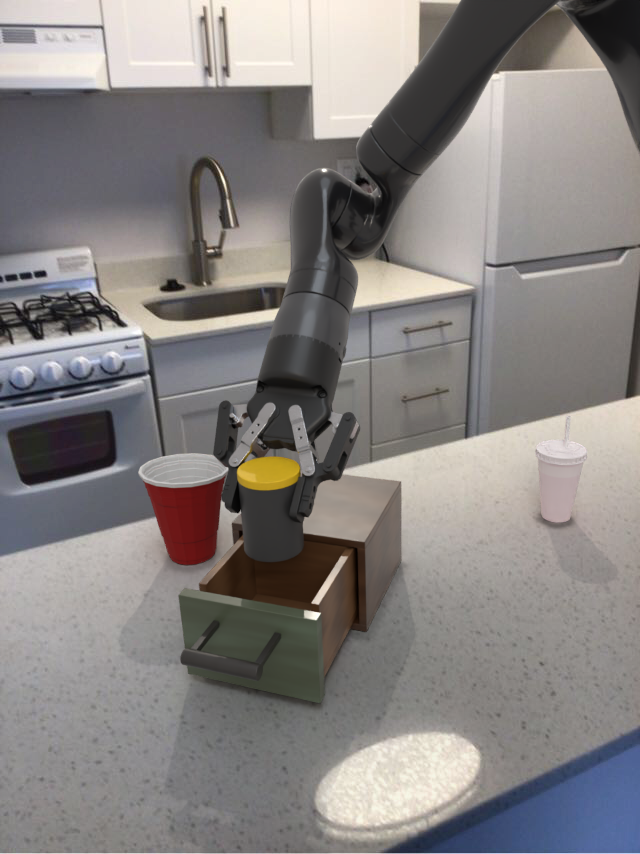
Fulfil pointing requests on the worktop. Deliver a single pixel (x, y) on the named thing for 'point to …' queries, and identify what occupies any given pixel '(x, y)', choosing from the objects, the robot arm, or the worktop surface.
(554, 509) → the smoothie
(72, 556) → the worktop surface
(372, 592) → the cabinet
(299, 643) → the drawer
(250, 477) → the canister
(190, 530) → the plastic cup
